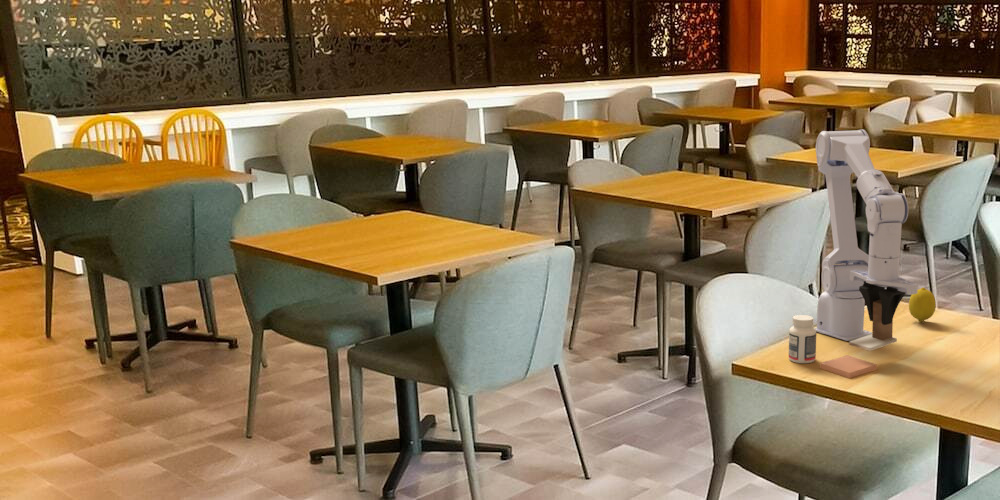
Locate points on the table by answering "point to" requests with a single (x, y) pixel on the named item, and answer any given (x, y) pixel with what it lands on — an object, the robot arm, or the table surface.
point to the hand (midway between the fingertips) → (880, 321)
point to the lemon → (922, 304)
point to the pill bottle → (802, 340)
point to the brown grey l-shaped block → (876, 332)
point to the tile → (848, 366)
